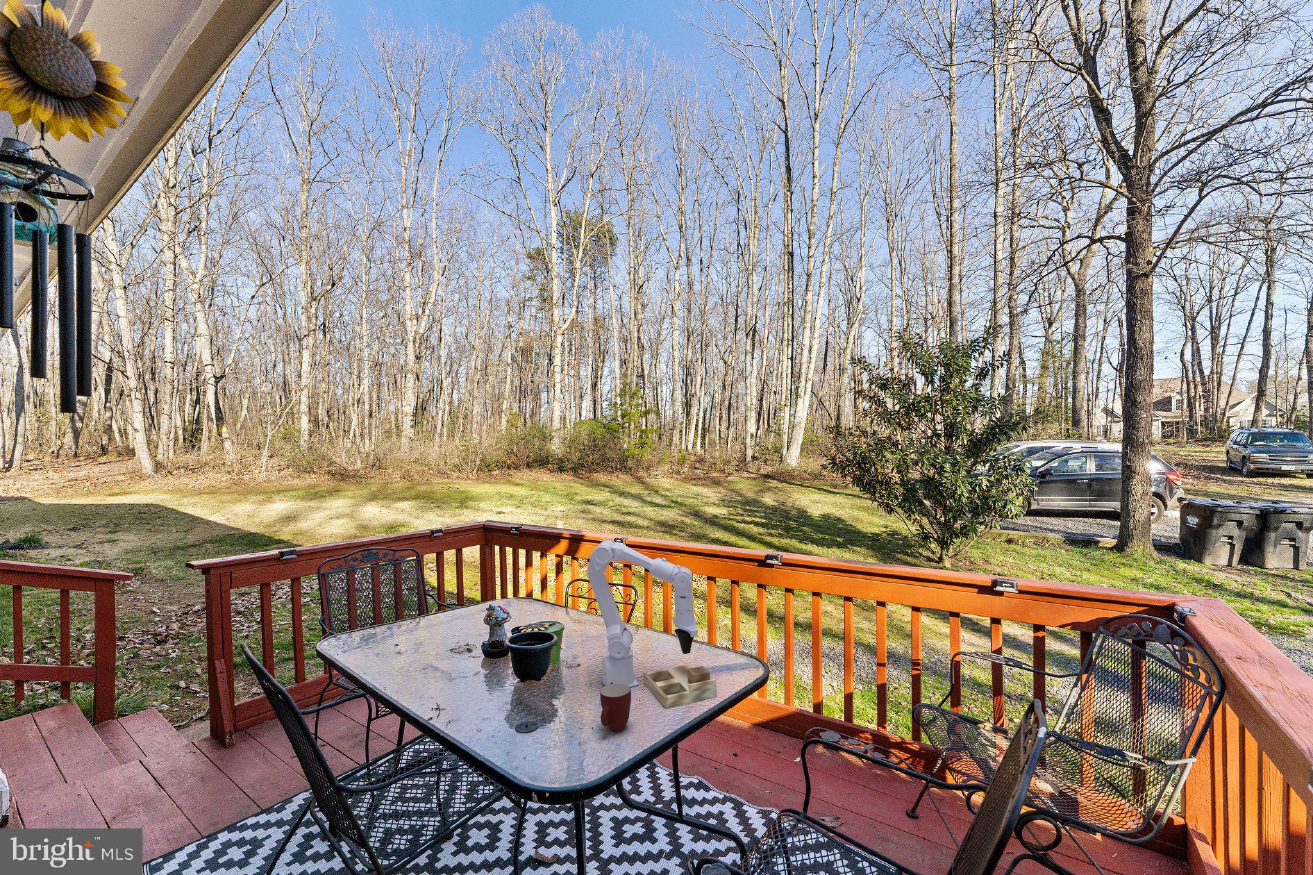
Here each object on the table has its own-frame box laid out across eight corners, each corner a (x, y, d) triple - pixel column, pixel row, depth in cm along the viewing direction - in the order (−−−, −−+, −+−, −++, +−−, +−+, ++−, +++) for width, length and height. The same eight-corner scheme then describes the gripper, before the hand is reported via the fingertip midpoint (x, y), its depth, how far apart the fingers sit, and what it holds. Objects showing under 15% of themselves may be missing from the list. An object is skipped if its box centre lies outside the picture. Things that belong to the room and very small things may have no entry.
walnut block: (694, 689, 162) (694, 675, 162) (687, 682, 167) (687, 669, 167) (710, 685, 164) (709, 672, 164) (703, 679, 169) (702, 665, 169)
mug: (620, 743, 141) (618, 703, 141) (592, 738, 144) (590, 699, 144) (637, 722, 151) (635, 685, 151) (610, 718, 154) (608, 681, 154)
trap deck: (665, 708, 158) (664, 690, 158) (644, 683, 175) (643, 667, 175) (716, 696, 164) (716, 679, 164) (691, 673, 180) (690, 657, 180)
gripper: (706, 613, 168) (708, 658, 168) (686, 600, 181) (688, 642, 181) (684, 616, 165) (686, 663, 165) (666, 603, 179) (668, 646, 179)
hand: (686, 652), depth 173 cm, fingers closed
